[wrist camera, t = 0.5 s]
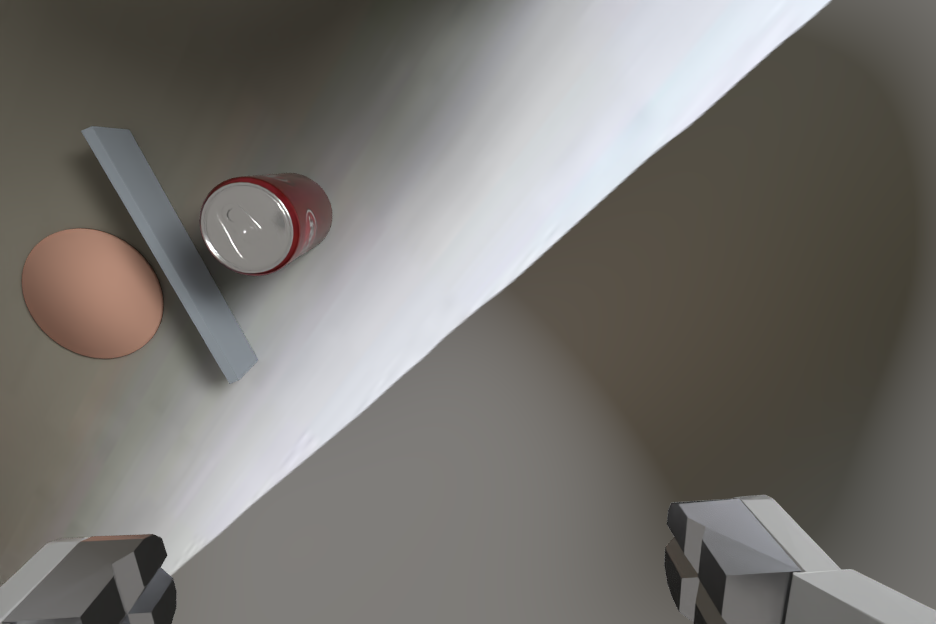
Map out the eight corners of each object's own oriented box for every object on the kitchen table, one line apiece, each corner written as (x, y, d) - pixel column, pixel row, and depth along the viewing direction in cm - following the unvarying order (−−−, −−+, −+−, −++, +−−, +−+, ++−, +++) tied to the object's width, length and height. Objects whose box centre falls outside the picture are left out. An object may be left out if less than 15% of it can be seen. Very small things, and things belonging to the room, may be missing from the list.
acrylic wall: (119, 133, 46) (81, 130, 41) (129, 129, 46) (91, 126, 41) (249, 363, 53) (229, 383, 48) (258, 360, 53) (239, 380, 48)
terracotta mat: (23, 215, 48) (20, 215, 48) (167, 244, 49) (164, 244, 49) (26, 343, 52) (23, 345, 51) (160, 367, 53) (158, 369, 52)
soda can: (349, 220, 49) (318, 239, 38) (292, 265, 50) (244, 296, 39) (298, 156, 47) (249, 155, 36) (239, 203, 48) (173, 217, 37)
